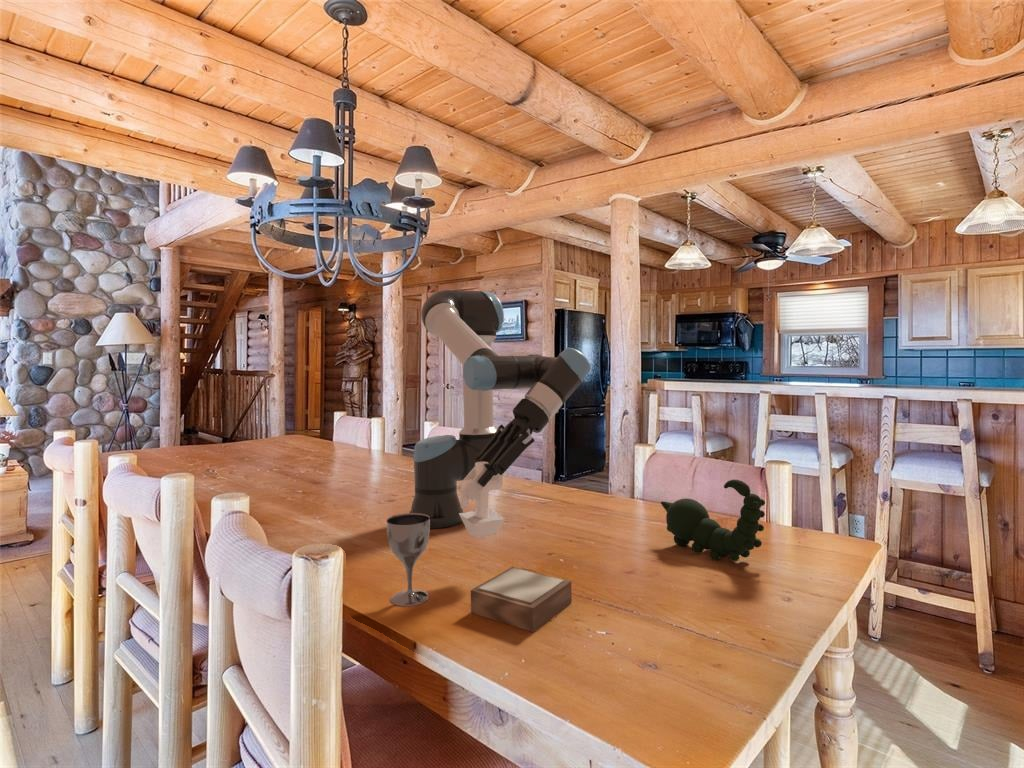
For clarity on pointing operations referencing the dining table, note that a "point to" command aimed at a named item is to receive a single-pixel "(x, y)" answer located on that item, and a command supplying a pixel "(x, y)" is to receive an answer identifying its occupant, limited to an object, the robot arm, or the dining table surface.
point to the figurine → (481, 507)
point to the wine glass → (408, 550)
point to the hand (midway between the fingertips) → (464, 494)
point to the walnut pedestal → (521, 598)
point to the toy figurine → (716, 525)
